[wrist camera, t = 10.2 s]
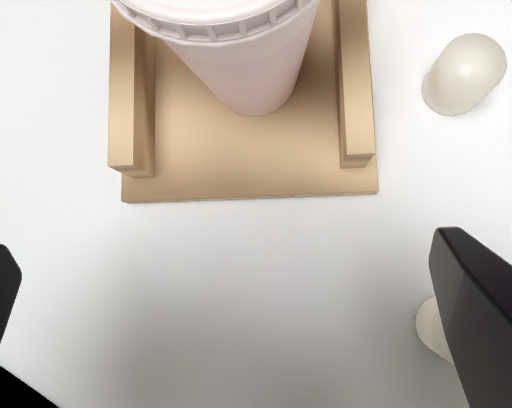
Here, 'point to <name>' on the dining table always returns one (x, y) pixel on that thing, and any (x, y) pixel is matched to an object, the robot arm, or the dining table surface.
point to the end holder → (243, 121)
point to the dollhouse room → (19, 393)
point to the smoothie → (233, 44)
